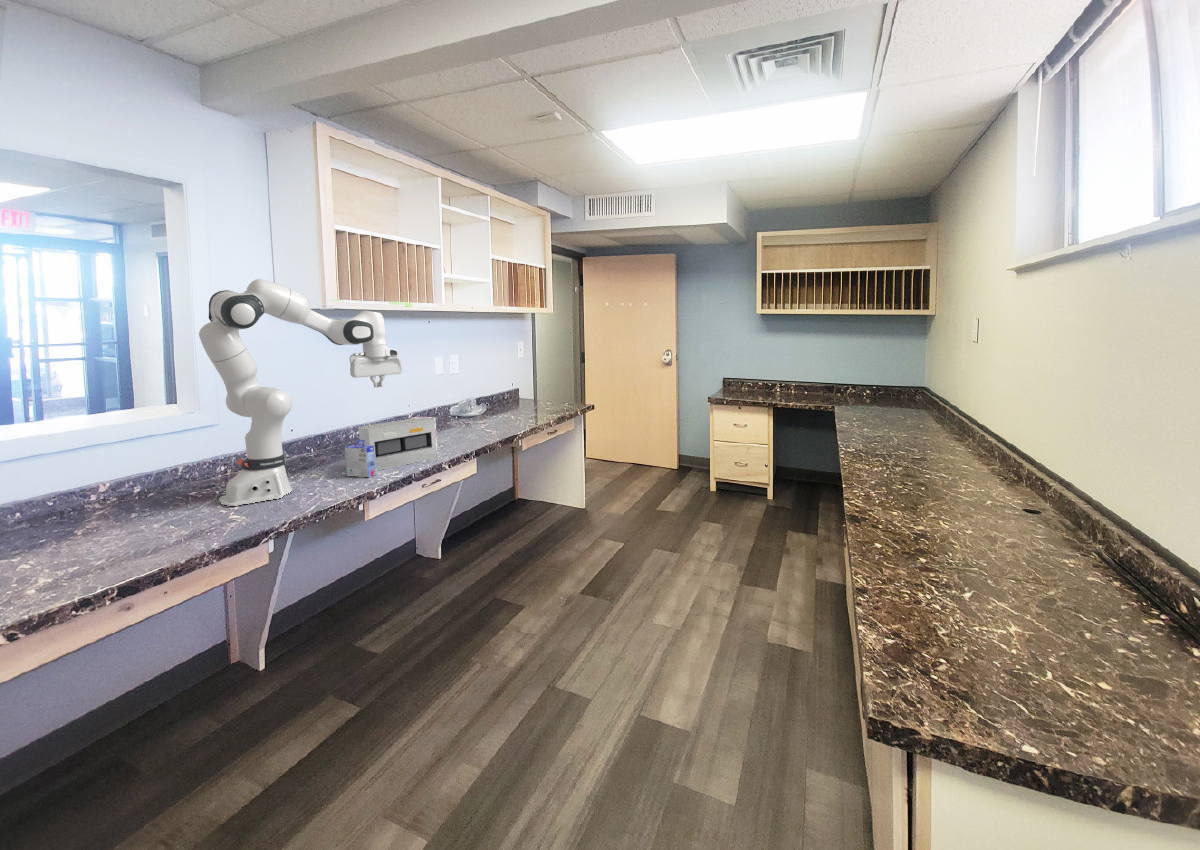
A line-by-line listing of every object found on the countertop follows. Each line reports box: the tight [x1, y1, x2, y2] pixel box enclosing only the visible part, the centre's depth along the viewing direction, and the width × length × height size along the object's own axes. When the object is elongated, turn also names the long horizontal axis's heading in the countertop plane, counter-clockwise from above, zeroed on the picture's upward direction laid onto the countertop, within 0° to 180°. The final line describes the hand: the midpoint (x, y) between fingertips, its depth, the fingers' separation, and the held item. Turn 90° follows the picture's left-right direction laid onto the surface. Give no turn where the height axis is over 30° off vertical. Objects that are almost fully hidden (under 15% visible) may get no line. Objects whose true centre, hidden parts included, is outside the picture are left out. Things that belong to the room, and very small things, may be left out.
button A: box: [374, 438, 401, 455], centre depth 240 cm, size 10×5×5 cm, turn 137°
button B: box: [399, 434, 427, 450], centre depth 249 cm, size 10×5×5 cm, turn 137°
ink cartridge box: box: [344, 439, 377, 478], centre depth 227 cm, size 10×6×14 cm, turn 79°
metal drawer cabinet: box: [357, 416, 438, 472], centre depth 245 cm, size 30×9×18 cm, turn 137°
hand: (378, 387), depth 227 cm, fingers closed
